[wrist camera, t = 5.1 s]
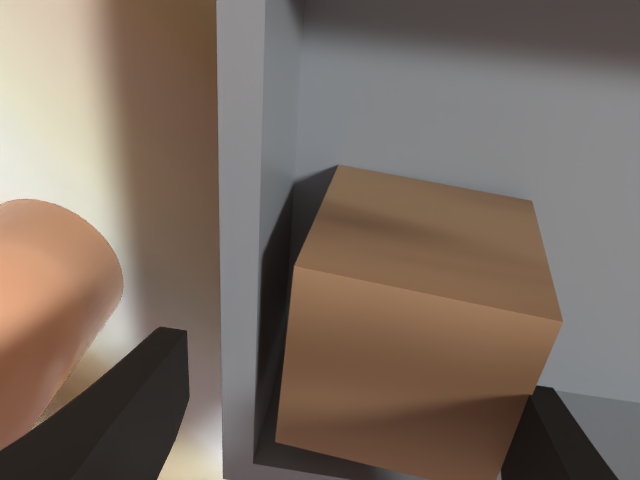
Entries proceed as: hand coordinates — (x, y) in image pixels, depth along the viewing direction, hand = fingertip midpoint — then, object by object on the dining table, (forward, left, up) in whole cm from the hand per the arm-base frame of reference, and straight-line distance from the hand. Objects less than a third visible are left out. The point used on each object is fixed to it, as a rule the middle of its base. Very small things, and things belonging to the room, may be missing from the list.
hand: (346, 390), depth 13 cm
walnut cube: (+1, -1, -5) cm, 5 cm away
